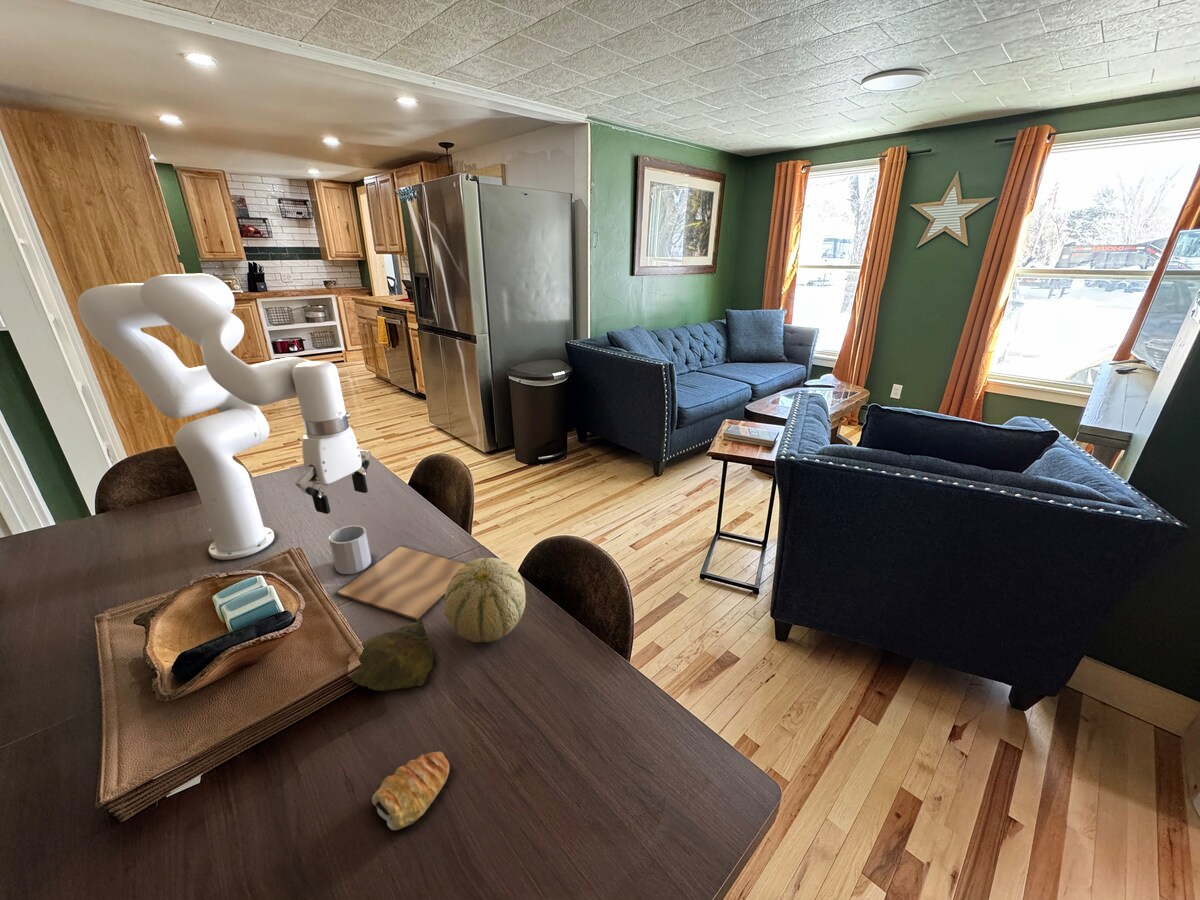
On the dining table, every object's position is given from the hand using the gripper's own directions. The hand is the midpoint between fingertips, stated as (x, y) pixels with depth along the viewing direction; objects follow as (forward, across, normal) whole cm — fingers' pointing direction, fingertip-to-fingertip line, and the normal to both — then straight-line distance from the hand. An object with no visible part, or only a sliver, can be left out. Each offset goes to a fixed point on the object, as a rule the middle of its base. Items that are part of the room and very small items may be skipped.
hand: (343, 501), depth 100 cm
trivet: (+16, 0, +14) cm, 22 cm away
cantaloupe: (+17, +6, +38) cm, 42 cm away
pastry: (+17, +35, +45) cm, 59 cm away
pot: (+16, 0, -1) cm, 16 cm away
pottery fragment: (+17, +18, +27) cm, 36 cm away
